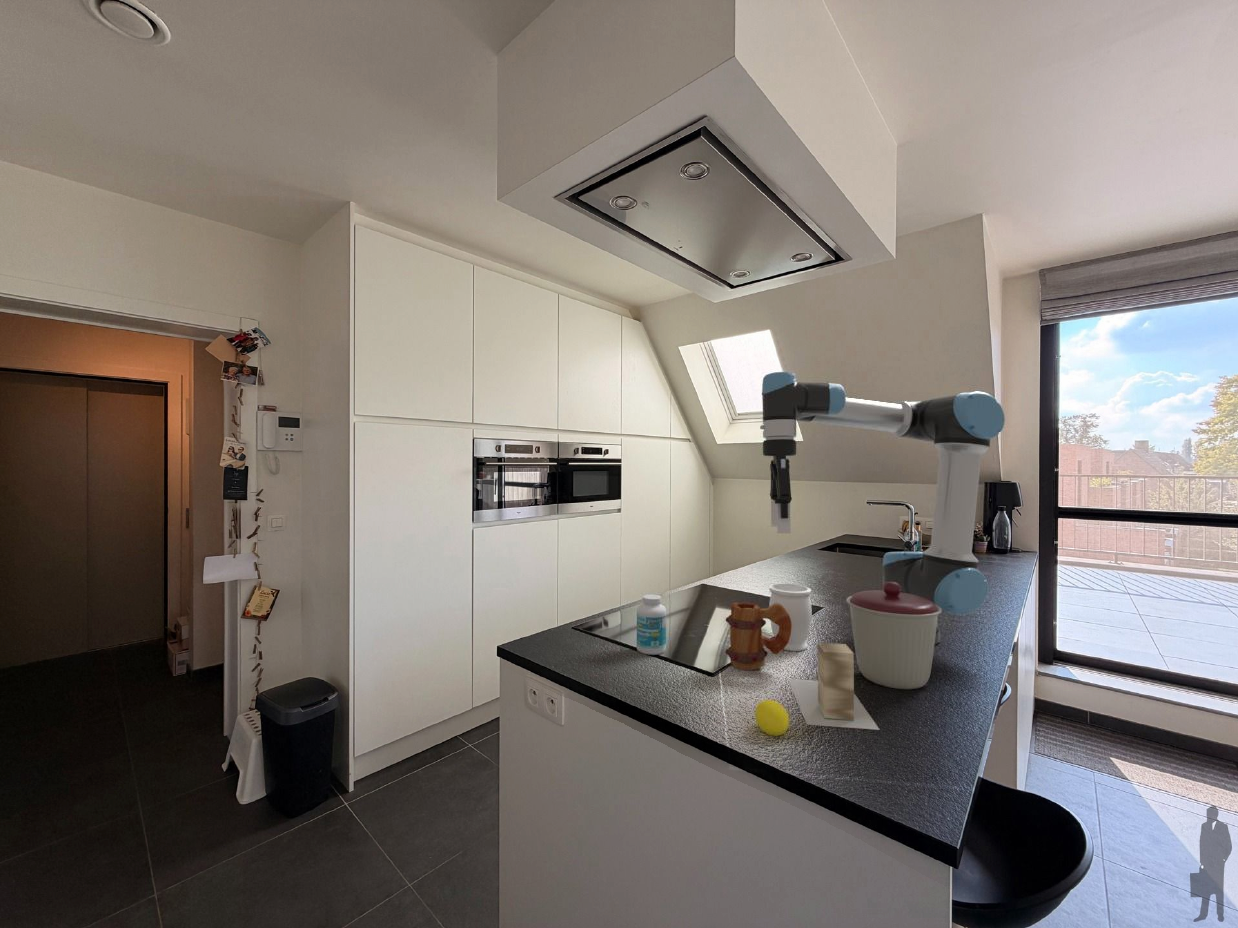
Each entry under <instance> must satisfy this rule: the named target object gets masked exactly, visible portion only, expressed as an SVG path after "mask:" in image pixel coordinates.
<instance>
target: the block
mask: <svg viewBox="0 0 1238 928" xmlns="http://www.w3.org/2000/svg"><path fill="white" fill-rule="evenodd" d="M854 657H855V655H854V652H853V651H852V649H851V648H850V647H849V646H848V645H847V644H846V643H832V642H830V643H829V642H828V643H827V642H817V681H818V707H819V709H820V711H821V713H822V715H823V717H824V719H831V720H845V721H854V694H855V686H854V685H855V682H854V681H855V677H854V676H855V671H854V669H855V668H854V666H855V665H854V664H855V663H854Z"/></svg>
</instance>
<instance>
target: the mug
mask: <svg viewBox="0 0 1238 928" xmlns="http://www.w3.org/2000/svg"><path fill="white" fill-rule="evenodd" d="M765 619H768V620H769V621H770V622H771V621H772V622H774V623H775V624H777V625H778V626H779V632H778V634H777V635H776V637H775V636H774V637H773V638H769V637H767V636H764V635H763V634H762V633H763V630H762V629H763V627H764V626H765V625H766V624H767V621H766V620H765ZM725 621H726V623H728V625H729V626H730V629H729V630H730V631H729V633H730V635H729V637H730V639H729V641H730V644H729V646H728V648H726V649H725V651H724V653H725V654H726V655H727V656H728V657H729V659H730V661H729V662H730V664H731V665H732V666H733V667H734V668H736V669H739V670H740V671H741V670H743V671H756V670H758V669H761V668H763V667H764V666H765V664H766V662H765V660H766V657H767V656H768V654H769V652H768V651H766V650H765V649H767V650H769V651H770V652H771V653H772V654H774V655H778V654H780V653H781V652H782V651H784V648H785V646H786V645H787V644H788V642H789V639H790V635H791V627H792V624H791V618H790V616H789V614H788V612H787V611H786V609H785V608H784V607H783V606H782V605H781V604H778V603H775V604H773V605H771V606H770V607H769V606H768V607H766V608H762V607H760V606H759V605H758V604H757V603H753V602H752V603H749V602H733V603H732V604H731V610H730V615H728V617H726V618H725Z"/></svg>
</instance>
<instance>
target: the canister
mask: <svg viewBox="0 0 1238 928" xmlns="http://www.w3.org/2000/svg"><path fill="white" fill-rule="evenodd" d="M883 590H884V591H883ZM846 603H847V604H848V605H849V611H850V619H851V626H852V627H851V629H852V635H853V637H852V638H853V643H854V650H855V651H854V652H855V657H856V664H857V668H858V669H859V671H860V673H861V674H862V676H863V677H864V678H865V679H867V680H868V681H871V682H872V683H874V684H876V685H880V686H883V687H887V688H890V689H891V688H893V689H898V690H914V689H916V690H917V689H920V688H923V687H924V686H925V685H926V684H927V683H928V681H929V679H930V676H931V672H932V667H933V665H932V664H933V658H934V652H935V645H936V644H935V636H936V628H937V625H938V616H939V615H941V613H942V612H943V611H942V609H941V608H940V607H939V606H938V605H936V604H934V603H933V602H932V601H930V600H928V599H926V598H924V597H921V596H917V595H913V594H908V593H903V592H901V586H900V585H899V584H898V583H896V582H886V583H885V584H884V585H883V584H882V590H873V589H872V590H862V591H859V592H855V593H853V595H850V596H848V597H847V598H846Z"/></svg>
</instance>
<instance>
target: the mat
mask: <svg viewBox="0 0 1238 928" xmlns="http://www.w3.org/2000/svg"><path fill="white" fill-rule="evenodd" d="M787 682H788V684H789V686H790V688H791V690H792V693H793V695H794V697H795V700H796V702H797V704H798V707H799V709H800V711H801V714H802V716H803V718H804V721H805V723H806V725H809V726H810V725H811V726H822V727H823V726H824V727H834V728H835V727H837V728H848V729H849V728H850V729H861V730H862V729H864V730H865V729H866V730H874V731H875V730H876V731H880V730H881V729H880V728H879V727H878V725H877V723H876V721H874V720H873V718H872V716H871V715H870V714H869V712H868V711H867V709H866V707H864V705H863V703H862V702H861V701H860V699H859V698H858V697H857V695H856V694H855V693H854V721H845V720H831V719H824V717H823V715H822V713H821V711H820V709H819V707H818V680H812V679H811V680H810V679H796V678H795V679H794V678H793V679H792V678H787Z"/></svg>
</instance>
